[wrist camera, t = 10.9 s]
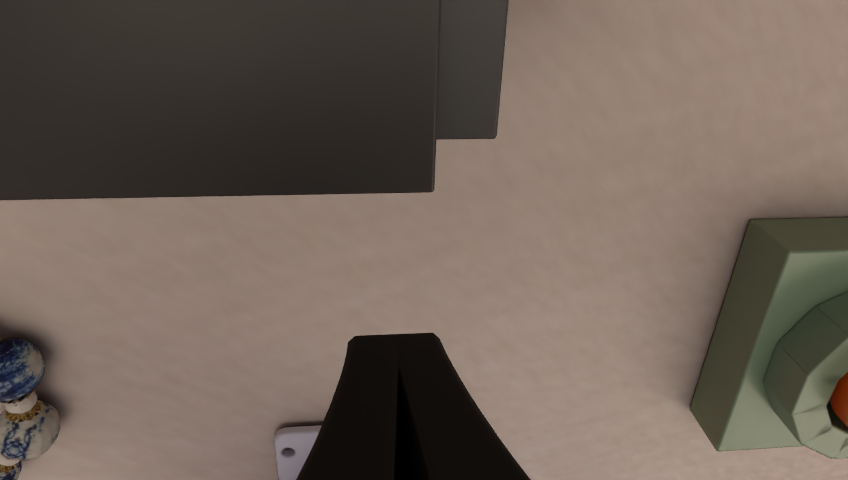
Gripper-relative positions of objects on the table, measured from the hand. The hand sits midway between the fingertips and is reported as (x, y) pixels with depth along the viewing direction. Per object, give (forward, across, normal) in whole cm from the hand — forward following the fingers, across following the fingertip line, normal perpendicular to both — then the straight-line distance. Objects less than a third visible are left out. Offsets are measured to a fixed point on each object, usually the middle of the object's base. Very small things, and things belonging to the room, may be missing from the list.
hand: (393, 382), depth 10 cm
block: (+10, -17, +7) cm, 21 cm away
